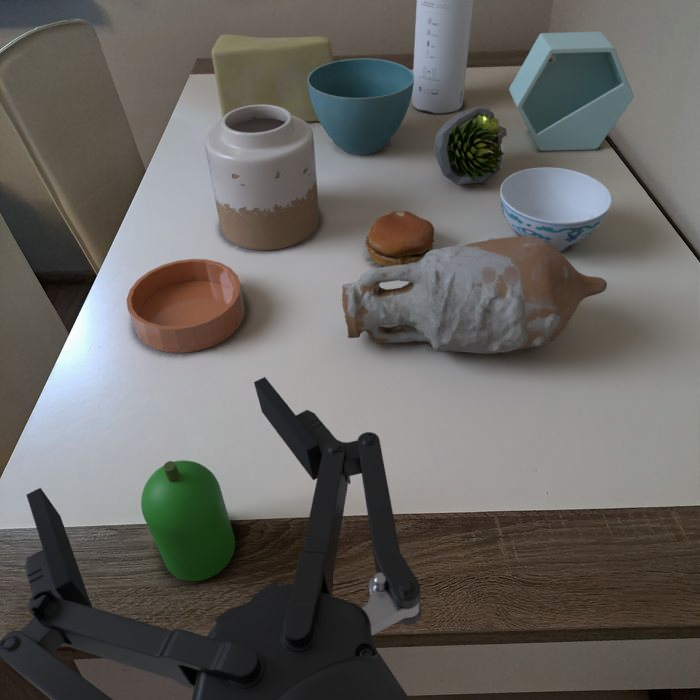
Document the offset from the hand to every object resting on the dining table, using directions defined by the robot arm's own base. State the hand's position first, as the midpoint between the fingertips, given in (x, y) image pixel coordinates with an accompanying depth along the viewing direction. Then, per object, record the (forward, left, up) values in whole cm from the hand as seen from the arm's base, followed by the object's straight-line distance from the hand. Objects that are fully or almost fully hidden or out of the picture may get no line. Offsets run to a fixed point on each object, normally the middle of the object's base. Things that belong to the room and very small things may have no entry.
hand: (160, 446), depth 38 cm
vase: (+18, +60, -25) cm, 67 cm away
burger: (+34, +46, -25) cm, 62 cm away
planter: (+74, +68, -25) cm, 104 cm away
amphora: (+35, +26, -25) cm, 50 cm away
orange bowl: (+3, +42, -25) cm, 49 cm away
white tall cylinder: (+60, +91, -25) cm, 112 cm away
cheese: (+29, +96, -25) cm, 103 cm away
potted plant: (+53, +61, -25) cm, 85 cm away
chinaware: (+55, +41, -25) cm, 73 cm away
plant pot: (+40, +80, -25) cm, 93 cm away
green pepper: (-1, +8, -25) cm, 26 cm away
